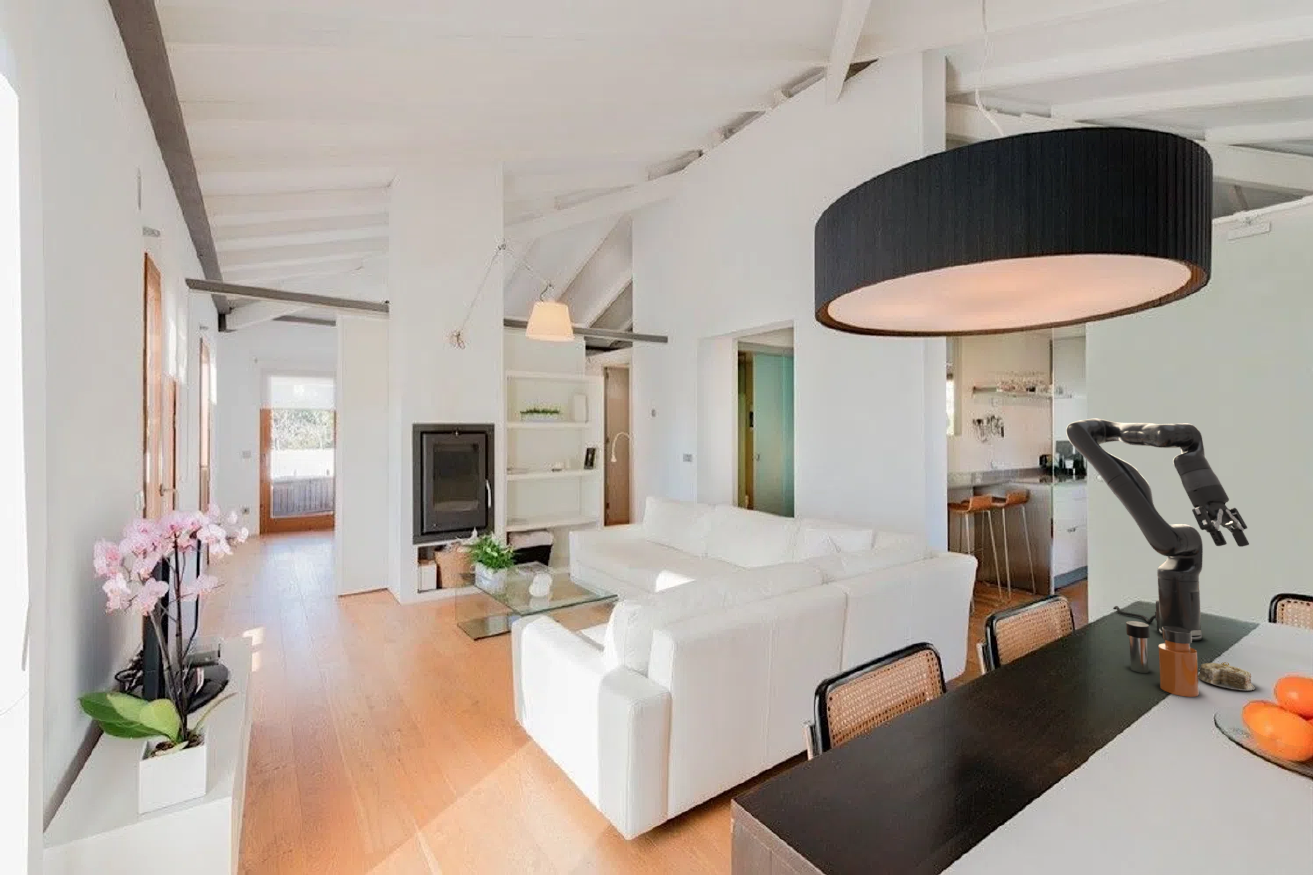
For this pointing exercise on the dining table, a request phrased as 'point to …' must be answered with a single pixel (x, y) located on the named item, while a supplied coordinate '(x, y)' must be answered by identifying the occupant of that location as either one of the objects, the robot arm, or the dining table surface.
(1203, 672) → the cake
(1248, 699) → the dining table surface
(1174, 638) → the bottle
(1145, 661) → the silver shaker
